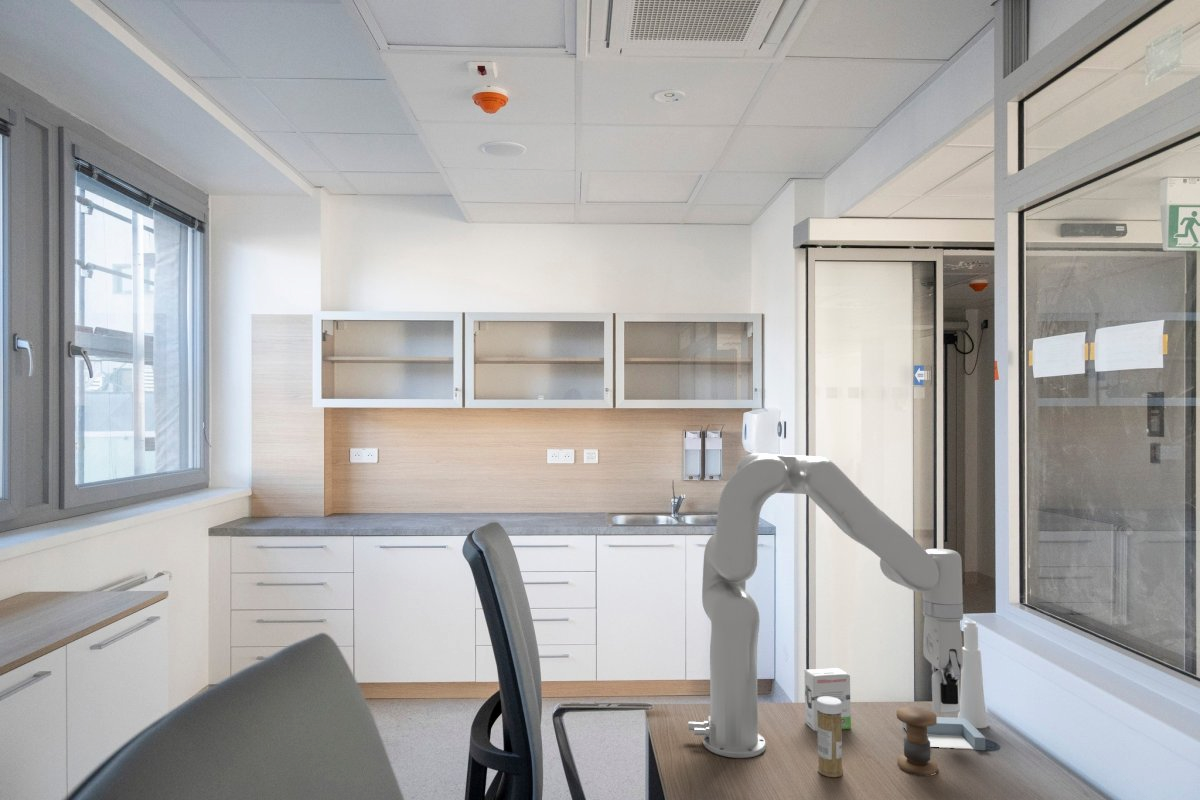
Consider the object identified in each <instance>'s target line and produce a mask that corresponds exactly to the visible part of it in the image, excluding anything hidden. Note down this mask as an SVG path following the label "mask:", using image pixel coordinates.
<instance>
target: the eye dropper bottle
mask: <svg viewBox="0 0 1200 800" xmlns="http://www.w3.org/2000/svg"><path fill="white" fill-rule="evenodd" d="M946 668H950V665H947V666H946ZM931 674H932V673H931ZM947 674H950V672H946V676H947ZM940 683H942V674H941V670H937V671H936V672H934V673H933V674H932V675H931V695H932V697H931V698H932V699H931V700H932V702H931V703H932V712H933V713H934V714H938V715H942V716H952V715H958V713H959V712H960V677H959V678H958V704H943V703H942V702H941V686H940Z"/></svg>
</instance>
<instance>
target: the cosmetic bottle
mask: <svg viewBox="0 0 1200 800" xmlns="http://www.w3.org/2000/svg"><path fill="white" fill-rule="evenodd" d="M976 625H977V622H976V621H973V620H965V621H964V625H963V646H962V648H963V667H962V669H961V670H960V692H959V694H960V712H959V713H957V718H966V719H967V720H968V721H969V722H970V723H971V724H972V725H973V726H974V727H975V728H976V729H985V728H988V727H989V720H988V717H987V711H986V703H985V693H984V692H985V691H984V681H983V679H984V678H983V665H982V653H981V649H980V648H979V628H978V625H977V626H976Z"/></svg>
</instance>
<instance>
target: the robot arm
mask: <svg viewBox="0 0 1200 800" xmlns="http://www.w3.org/2000/svg"><path fill="white" fill-rule="evenodd" d="M775 494H793V495H795V494H796V495H797V494H799V495H806V496H808V498H810V499H811V500H812V501H813V502H814V503H815V504H816V505H817V506H818V507H819V508H820V509H821V510H822V511H823V512H824V513H825V514H826V516H828V518H830V519H831V520H832V522H833V523H834V524H835V525H836V526H837V527H838V528H839V529H840V530H841V531H842V532H843V533H844V534H845V535H847V536H848V537H849V538H850V539H852V540H853V541H855V542H857V543H858V544H860V545H862V546H864V547H865V548H867V549H868V550H870V551H871V553H873V554H875V555H876V556H877V557H879V558H880V560H879V567H880V570H881V572H882V574H883V575H884V576H885V577H886V578H887V579H888V580H890V581H891V582H894V583H896V584H898V585H900V586H902V587H905V588H907V589H908V590H911V591H913V592H919V593H920V592H921V593H922V615H923V616H924V620H923V642H922V644H923V647H922V648H923V649H922V650H923V651H922V652H923V657H924V658H925V659H926V660H927V661H928V662H929V663H930V664H931V674H933V673H934V672H936V671H937V670H941V674H942V683H940V686H941V702H942V703H943V704H958V678H959V679H960V678H961V669H962V667H963V648H962V647H963V637H962V636H963V635H962V627H961V621H962V620H964V605H963V600H964V599H963V569H962V568H963V565H962V563H963V562H962V556H961V554H960V553H959V552H958V551H956V550H953V549H948V548H927V549H924V548H923V546H922V545H921V544H920V543H918V541H917V540H916V539H915V537H912V536H911V535H910V534H909V533H908V531H906V530H905V529H903V528H902V526H900V525H899V524H898V523H896V522H895V521H894V520H893V519H891V518H890V517H889V516H888V515H887V514H886V513H885V512H884V511H882V509H880V508H879V507H878V506H877V505H875V504H874V503H873V501H871V500H870V498H868V497H867V496H866V494H864V493H863V492H862V491H861V489H859V488H858V486H857V485H856V484H855V483H854V482H853V481H852V480H851V478H849V477H848V476H847V475H846V474H845V473H844V471H842V470H841V468H839V466H838V465H836V464H835V463H834V462H833V461H832V460H829V459H828V458H826V457H823V456H813V455H787V454H786V455H784V454H783V455H782V454H774V453H773V454H771V453H761V452H758V453H757V452H755V453H750V454H748V455H745V456H744V457H742V459H741V460H739V462H738V464H737V467H736V472H735V473H734V474H733V475H732V476H731V477H730V478H729V479H728V480H727V483H726V484H725V486H724V488H723V489H722V492H721V494H720V497H719V501H718V508H717V517H716V518H717V519H716V527H715V533H714V534H712V535H711V536H710V538H709V539H708V541H707V542H706V544H705V549H704V552H703V553H704V554H703V564H702V565H703V566H702V567H703V568H702V585H701V586H702V590H701V593H702V596H701V599H702V606H703V609H704V612H705V615H706V616H707V617H708V618H709V620H710V623H711V625H710V626H711V632H710V644H709V645H710V646H709V648H710V649H709V668H710V669H709V676H710V677H709V679H710V683H709V684H710V686H709V688H710V689H709V690H710V691H709V692H710V694H709V695H710V697H709V698H710V700H709V701H710V708H709V709H710V710H709V711H710V715H708V716H707V717H708V720H703V721H700V722H699V721H695V720H694V721H693V720H689V721H688V723H687V725H688V726H687V727H688V728H687V729H688V732H694V736H702V742H703V743H702V744H703V746H704V747H705V748H706V749H707V750H708V751H709V752H711V753H714V754H716V755H719V756H721V757H727V758H735V759H745V758H746V759H747V758H752V757H756V756H759V755H761V754H763V752H764V751H765V750H766V748H767V744H766V739H765V737H763V735H761V734H760V733H759V732H758V731H759V728H758V726H759V724H758V723H759V722H758V717H759V716H758V715H759V714H758V711H759V710H758V642H759V641H758V640H759V632H760V612H759V608H758V606H757V603H756V602H755V600H754V599H753V598H752V596H751V595H750V594H749V593H748V592H747V591H746V585H747V584H746V583H747V581H748V580H749V579H751V578H752V577H753V575H754V574H755V572H756V570H757V566H758V541H759V540H758V539H759V537H758V536H759V524H760V516H761V511H762V508H763V505H764V504H765V503H766V501H768V499H769V498H770V497H772V496H773V495H775ZM947 665H950V668H946V666H947ZM946 672H950V674H947V676H946Z"/></svg>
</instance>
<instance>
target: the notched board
mask: <svg viewBox="0 0 1200 800" xmlns="http://www.w3.org/2000/svg"><path fill="white" fill-rule="evenodd" d="M903 726H904V728H905V729H906V723H904V722H902V727H903ZM904 728H903V729H904ZM927 739H928V740H929V741H930V747H939V748H938V749H950V748H954V750H975V751H986V737H985V736H984V735H983V734H982V733H981V732H980V730H979V729H978V728H975V727H974V726H973V725H972V724H971V723H970V722H969V721H968V720H967V719H966V718H958V717H950V716H949V717H947V716H946V717H945V716H944V717H943V716H937V723H936V724H935V725H933V726H927Z"/></svg>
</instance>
